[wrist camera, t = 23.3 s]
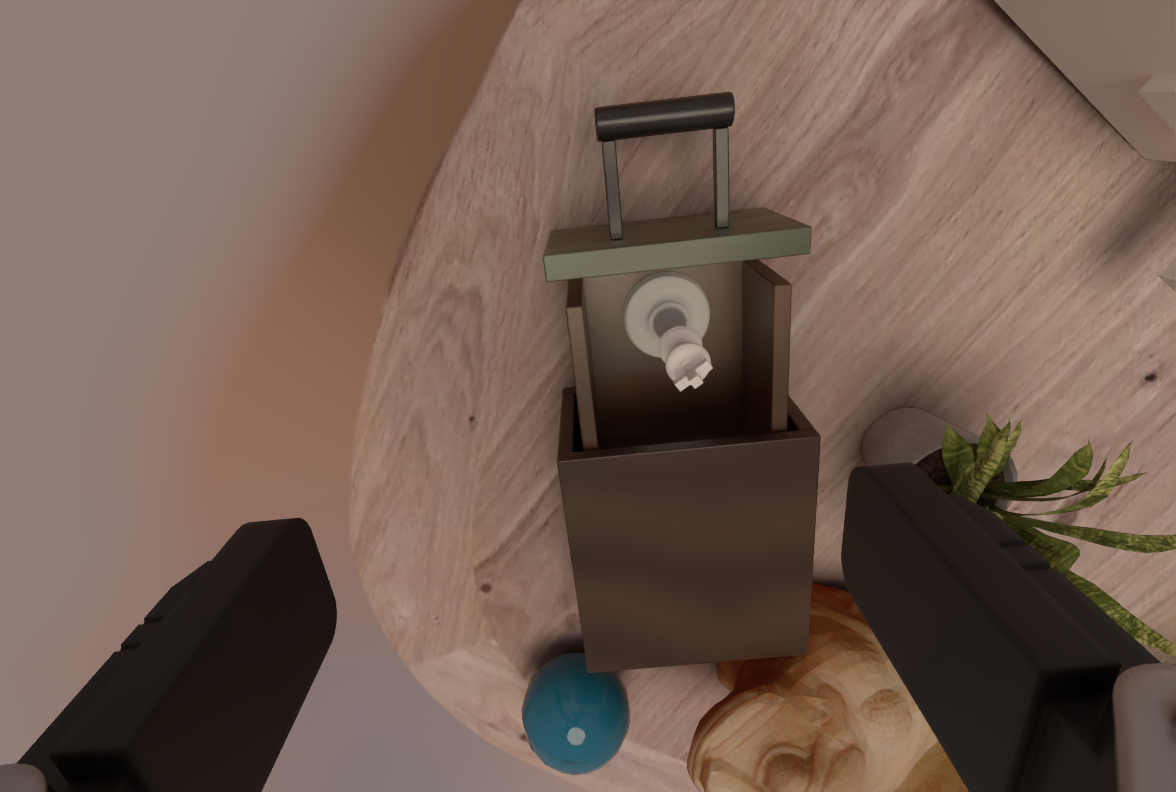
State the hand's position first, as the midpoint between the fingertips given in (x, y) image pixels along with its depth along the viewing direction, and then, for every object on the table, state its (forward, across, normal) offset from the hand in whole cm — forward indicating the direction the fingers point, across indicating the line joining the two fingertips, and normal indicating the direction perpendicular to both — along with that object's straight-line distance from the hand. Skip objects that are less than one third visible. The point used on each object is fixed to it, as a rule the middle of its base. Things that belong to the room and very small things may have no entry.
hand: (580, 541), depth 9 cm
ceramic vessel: (+27, -17, +33) cm, 46 cm away
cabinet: (+27, -5, +16) cm, 32 cm away
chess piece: (+26, -5, +4) cm, 26 cm away
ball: (+28, +3, +33) cm, 43 cm away
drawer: (+27, -5, +3) cm, 27 cm away
